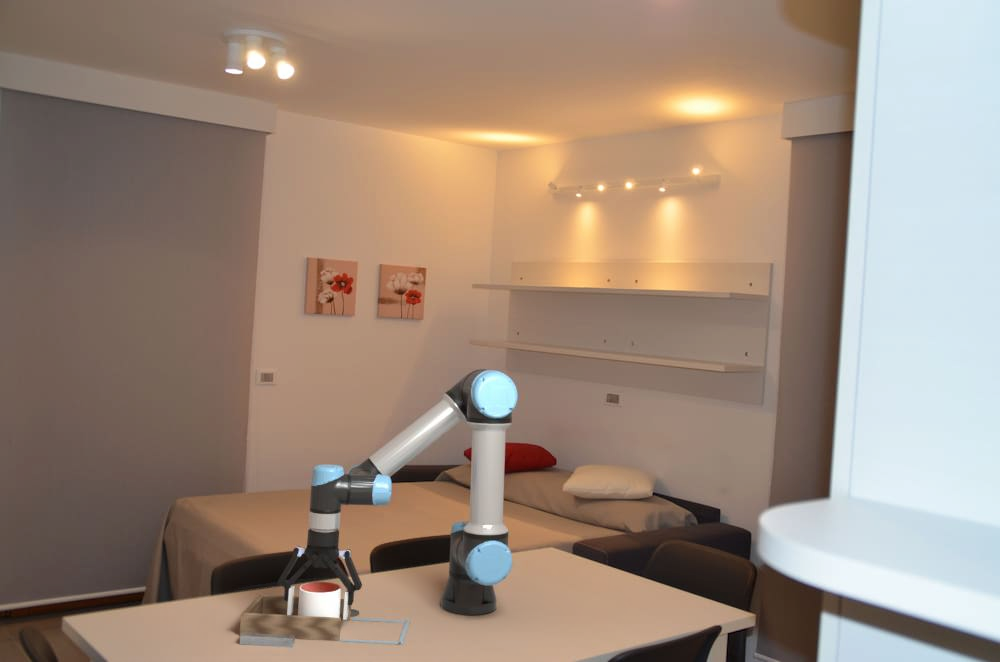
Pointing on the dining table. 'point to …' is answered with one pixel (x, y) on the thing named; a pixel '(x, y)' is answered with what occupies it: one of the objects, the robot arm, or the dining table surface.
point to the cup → (319, 599)
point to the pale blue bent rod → (382, 641)
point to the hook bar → (266, 639)
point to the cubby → (289, 620)
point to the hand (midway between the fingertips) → (317, 616)
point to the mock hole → (354, 612)
